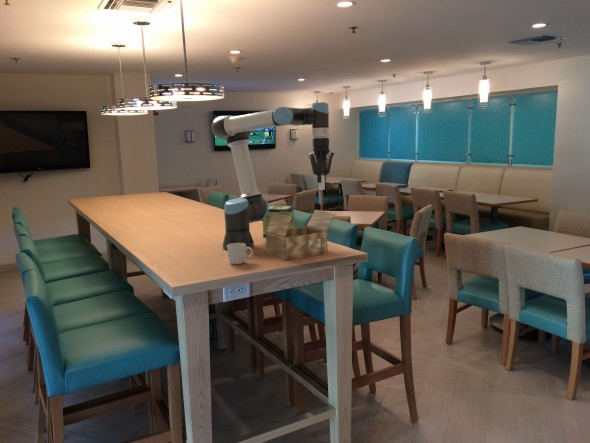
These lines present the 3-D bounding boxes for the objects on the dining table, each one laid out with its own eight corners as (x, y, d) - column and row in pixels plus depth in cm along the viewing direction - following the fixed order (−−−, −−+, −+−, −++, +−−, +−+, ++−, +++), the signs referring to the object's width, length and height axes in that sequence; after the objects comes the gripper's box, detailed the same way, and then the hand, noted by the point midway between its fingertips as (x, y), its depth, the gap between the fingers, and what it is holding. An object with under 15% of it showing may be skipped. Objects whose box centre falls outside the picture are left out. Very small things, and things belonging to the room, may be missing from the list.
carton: (285, 261, 204) (285, 238, 202) (266, 253, 220) (265, 231, 218) (328, 253, 215) (327, 231, 214) (306, 246, 231) (306, 226, 229)
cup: (253, 260, 207) (253, 242, 206) (252, 264, 200) (252, 246, 198) (228, 261, 207) (227, 243, 206) (226, 265, 199) (225, 247, 198)
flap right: (326, 230, 214) (335, 213, 215) (306, 225, 228) (315, 209, 229) (326, 230, 214) (335, 213, 216) (307, 225, 228) (315, 209, 230)
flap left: (284, 236, 203) (291, 217, 204) (266, 230, 217) (273, 212, 218) (285, 236, 204) (292, 217, 204) (267, 231, 217) (274, 213, 218)
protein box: (291, 237, 253) (290, 208, 251) (262, 237, 257) (261, 208, 254) (295, 234, 264) (294, 206, 261) (267, 233, 267) (266, 206, 264)
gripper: (313, 137, 210) (314, 191, 214) (337, 137, 216) (338, 189, 220) (304, 138, 216) (305, 190, 220) (327, 137, 223) (328, 187, 227)
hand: (321, 189), depth 220 cm, fingers closed
